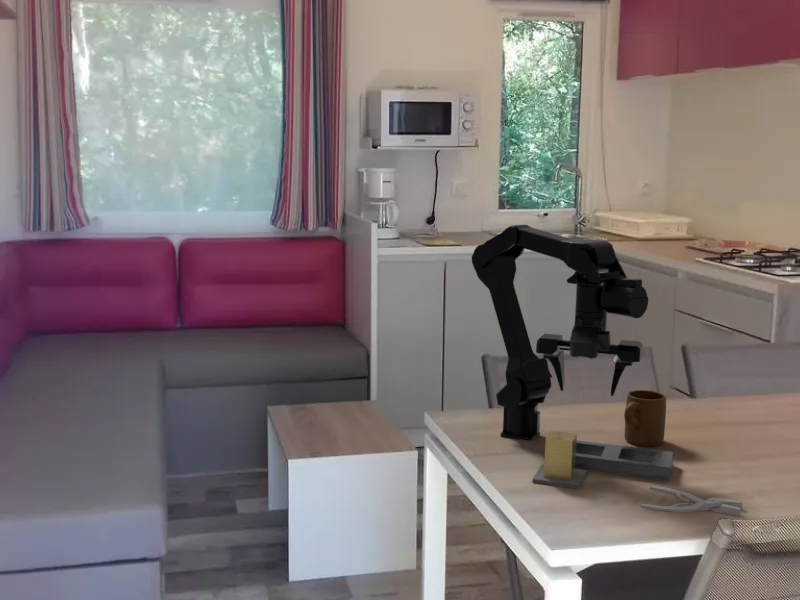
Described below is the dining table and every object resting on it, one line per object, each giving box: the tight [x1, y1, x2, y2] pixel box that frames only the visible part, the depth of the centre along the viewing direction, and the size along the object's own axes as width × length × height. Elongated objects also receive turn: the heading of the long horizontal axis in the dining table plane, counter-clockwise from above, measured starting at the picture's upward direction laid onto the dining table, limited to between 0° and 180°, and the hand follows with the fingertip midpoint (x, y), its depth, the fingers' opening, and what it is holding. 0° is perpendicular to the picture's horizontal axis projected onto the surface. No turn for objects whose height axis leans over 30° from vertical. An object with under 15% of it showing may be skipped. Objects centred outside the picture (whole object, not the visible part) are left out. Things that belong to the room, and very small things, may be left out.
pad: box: [531, 464, 587, 490], centre depth 166 cm, size 8×8×1 cm
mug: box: [623, 389, 667, 447], centre depth 185 cm, size 12×8×9 cm, turn 140°
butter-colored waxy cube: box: [544, 430, 578, 481], centre depth 165 cm, size 5×5×7 cm
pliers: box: [640, 485, 743, 517], centre depth 155 cm, size 10×2×15 cm
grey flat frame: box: [575, 439, 674, 482], centre depth 172 cm, size 20×9×2 cm, turn 70°
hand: (587, 392), depth 176 cm, fingers open, 9 cm apart
